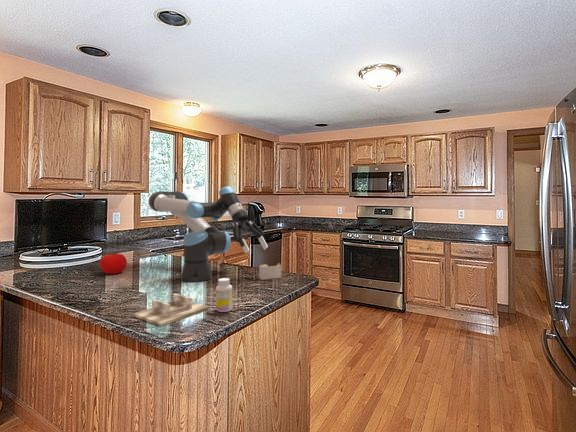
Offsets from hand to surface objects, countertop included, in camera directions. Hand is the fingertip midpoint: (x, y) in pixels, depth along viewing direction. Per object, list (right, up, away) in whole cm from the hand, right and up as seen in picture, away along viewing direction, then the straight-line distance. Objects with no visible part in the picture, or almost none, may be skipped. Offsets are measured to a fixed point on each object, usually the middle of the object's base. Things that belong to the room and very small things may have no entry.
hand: (257, 250), depth 164 cm
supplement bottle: (-8, -18, -40) cm, 45 cm away
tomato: (-79, -15, +19) cm, 83 cm away
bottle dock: (-26, -18, -43) cm, 54 cm away
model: (+6, -16, +7) cm, 18 cm away
